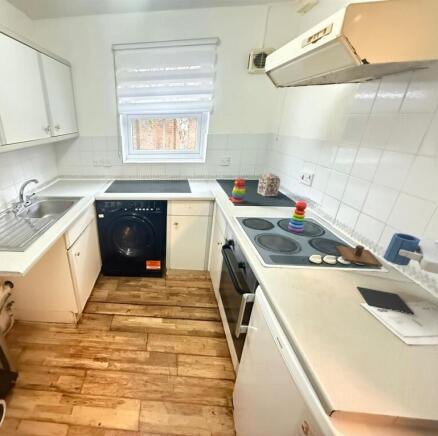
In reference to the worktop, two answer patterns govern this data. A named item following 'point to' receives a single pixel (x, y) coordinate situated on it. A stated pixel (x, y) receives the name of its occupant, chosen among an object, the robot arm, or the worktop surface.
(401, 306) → the mat
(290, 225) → the stacking toy
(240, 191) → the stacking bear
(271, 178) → the decorative jar
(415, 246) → the blue ribbed cup
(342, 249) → the platform
